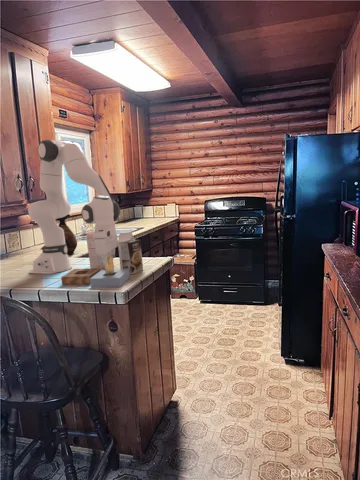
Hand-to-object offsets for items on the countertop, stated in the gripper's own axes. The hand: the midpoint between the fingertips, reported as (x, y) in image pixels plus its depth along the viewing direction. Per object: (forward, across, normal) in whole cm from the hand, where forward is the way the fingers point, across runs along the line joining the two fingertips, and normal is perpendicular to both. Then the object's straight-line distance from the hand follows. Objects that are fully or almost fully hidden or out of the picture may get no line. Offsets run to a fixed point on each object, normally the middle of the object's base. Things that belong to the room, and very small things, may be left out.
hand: (109, 260), depth 162 cm
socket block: (+10, 0, -1) cm, 10 cm away
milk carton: (+10, -26, 0) cm, 28 cm away
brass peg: (+10, 0, -1) cm, 10 cm away
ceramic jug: (+9, -64, -55) cm, 85 cm away
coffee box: (+11, -17, +6) cm, 21 cm away
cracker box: (+10, -23, -14) cm, 29 cm away
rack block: (+10, -4, -17) cm, 20 cm away
